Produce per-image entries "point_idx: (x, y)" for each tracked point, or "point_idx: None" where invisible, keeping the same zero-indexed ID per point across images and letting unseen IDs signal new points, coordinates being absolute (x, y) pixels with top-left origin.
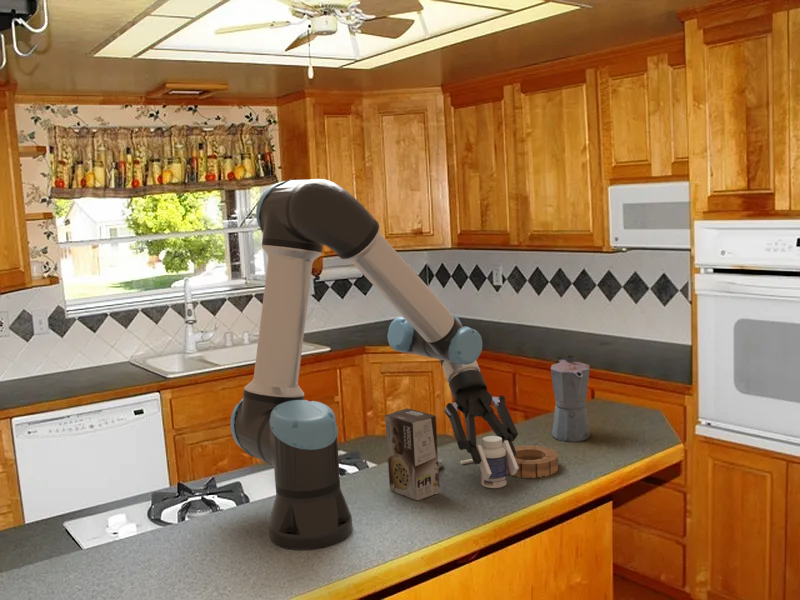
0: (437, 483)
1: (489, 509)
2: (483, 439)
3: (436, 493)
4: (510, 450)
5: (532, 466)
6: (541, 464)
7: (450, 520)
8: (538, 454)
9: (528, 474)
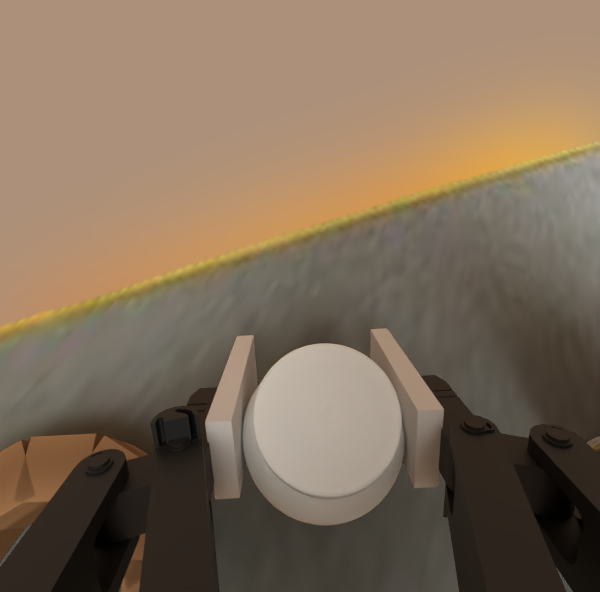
0: (596, 448)
1: (405, 259)
2: (398, 418)
3: None
4: (228, 379)
5: (120, 443)
6: (76, 435)
7: (530, 236)
8: None
9: None
